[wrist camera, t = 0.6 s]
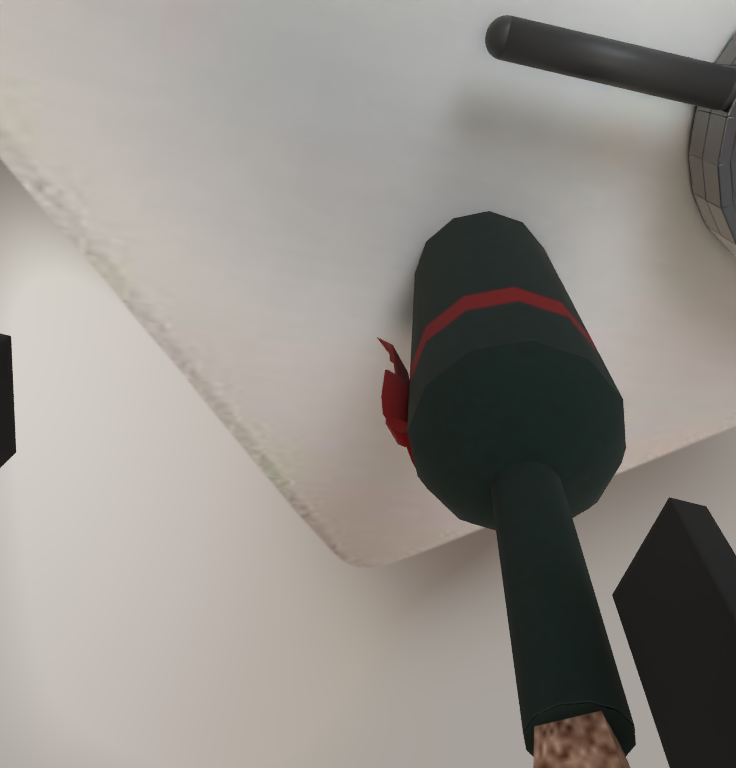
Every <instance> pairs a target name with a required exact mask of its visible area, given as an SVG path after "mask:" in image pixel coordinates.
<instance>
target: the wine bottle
mask: <svg viewBox="0 0 736 768" xmlns="http://www.w3.org/2000/svg"><path fill="white" fill-rule="evenodd" d="M378 339H379V338H378ZM379 341H380V342H381V343H382V345H383V346H384V347H385V349H386V350H387V351H388V353H389V354H390V361H391V362H392V363H394V369H395V374H394V373H393V372H391V371H389V370H385V375H384V382H383V389H382V396H381V397H382V408H383V415H384V417H385V418H386V425H387V426H388V428H389V430H390V431H391V433H392V435H393V437H394V438H395V440H396V442H397V443H398V444H399V445H401V446H403V447H407V449H408V452H409V455H410V457H411V460H412V462H413V464H414V466H415V468H416V471H417V475H418V477H419V478H420V480H421V481H422V482H423V484H424V485H425V486H426V487H427V489H428V490H429V491H430V492H432V493H433V494H434V495H435V496H436V497H437V498H438V499H439V500H440V501H441V502H442V503H443V504H444V505H445V506H446V507H447V508H448V509H449V510H450V511H451V512H452V513H453V514H454V515H456V516H457V517H458V518H459V519H461V520H464V521H467V522H469V523H473V524H476V525H479V526H483V527H486V528H489V529H493V530H496V533H497V540H498V548H499V556H500V563H501V570H502V578H503V586H504V592H505V600H506V608H507V615H508V623H509V630H510V638H511V645H512V653H513V660H514V668H515V675H516V683H517V690H518V698H519V705H520V713H521V720H522V728H523V734H524V740H525V745H526V750H527V751H528V752H529V753H530V754H531V755H532V756H533V757H534V766H533V767H534V768H630V766H629V763H628V761H627V759H626V756H627V754H628V753H629V752H630V751H631V750H632V749H633V747H634V746H635V745H636V743H635V728H634V723H633V720H632V717H631V713H630V710H629V707H628V704H627V700H626V696H625V693H624V690H623V687H622V683H621V680H620V676H619V673H618V670H617V667H616V663H615V660H614V656H613V653H612V650H611V646H610V643H609V640H608V636H607V633H606V630H605V626H604V623H603V619H602V616H601V613H600V609H599V606H598V603H597V599H596V596H595V593H594V589H593V586H592V583H591V580H590V576H589V573H588V569H587V566H586V563H585V559H584V556H583V552H582V549H581V546H580V542H579V539H578V536H577V532H576V529H575V526H574V523H573V519H572V518H573V517H575V516H577V515H578V514H580V513H582V512H584V511H585V510H587V509H589V508H590V507H591V506H592V505H594V504H595V503H597V502H598V500H599V498H600V497H601V495H602V494H603V492H604V490H605V489H606V487H607V486H608V484H609V482H610V481H611V479H612V477H613V476H614V474H615V473H616V471H617V469H618V468H619V466H620V464H621V463H622V459H623V456H624V453H625V449H626V443H625V425H624V408H623V398H622V397H621V395H620V393H619V391H618V389H617V387H616V385H615V383H614V381H613V379H612V377H611V376H610V374H609V372H608V370H607V368H606V366H605V364H604V362H603V360H602V358H601V356H600V355H599V353H598V351H597V349H596V347H595V345H594V343H593V341H592V339H591V337H590V335H589V334H588V332H587V330H586V328H585V326H584V324H583V322H582V320H581V318H580V316H579V315H578V313H577V311H576V309H575V307H574V305H573V303H572V301H571V299H570V297H569V295H568V294H567V292H566V290H565V288H564V286H563V284H562V282H561V280H560V278H559V276H558V274H557V273H556V271H555V269H554V267H553V265H552V263H551V261H550V259H549V257H548V255H547V253H546V252H545V250H544V248H543V247H542V246H541V244H540V243H539V242H538V241H537V240H536V238H535V237H534V236H533V235H532V233H531V232H530V231H529V230H528V228H527V227H526V226H525V225H524V224H523V222H520V221H517V220H514V219H511V218H508V217H505V216H502V215H499V214H496V213H493V212H490V211H488V212H483V213H478V214H473V215H468V216H464V217H459V218H454V219H452V220H451V221H450V222H449V223H448V224H446V225H445V226H444V227H443V228H442V229H441V230H440V231H438V232H437V233H436V234H435V235H434V236H433V237H431V238H430V239H429V240H428V241H427V242H426V244H425V247H424V250H423V252H422V255H421V258H420V261H419V264H418V266H417V269H416V272H415V282H414V303H413V323H412V343H411V364H410V380H409V375H408V372H407V370H406V368H405V366H404V364H403V363H402V361H401V359H400V357H399V355H398V354H397V352H396V350H395V348H394V346H393V345H392V344H390V343H388V342H386V341H383V340H381V339H379Z"/></svg>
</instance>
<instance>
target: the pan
mask: <svg viewBox="0 0 736 768" xmlns="http://www.w3.org/2000/svg"><path fill="white" fill-rule="evenodd" d="M715 64H718V65H723V66H727V67H731V68H735V69H736V34H735V36H734V37H733V38H732V40H731V41H730V43H729V44H728V46H727V47H726V49H725V50H724V51H723V53H722V54H721V56H720V57H719V59H718V60H717V62H716V63H715ZM689 153H690V154H689V162H690V171H691V181H692V191H693V195H694V197H695V200H696V202H697V204H698V207H699V209H700V212H701V214H702V216H703V219H704V221H705V223H706V225H707V227H708V228H709V229H710V230H711V231H712V233H713V234H714V235H715V236H716V237H717V238H718V239H719V240H720V242H721V243H722V244H723V245H724V246H725V247H726V248H727V249H728V250H729V251H730V252H731V253H732V254H734V255H735V256H736V98H735V99H734V101H733V102H732V103H731V104H730V106H729V107H728V108H726V109H725V110H713V109H709V108H704V107H700V106H697V110H696V112H695V118H694V124H693V130H692V136H691V142H690V149H689Z"/></svg>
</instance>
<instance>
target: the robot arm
mask: <svg viewBox="0 0 736 768" xmlns="http://www.w3.org/2000/svg"><path fill="white" fill-rule="evenodd" d="M15 440H16V439H15V417H14V394H13V371H12V348H11V336H8V335H4V334H0V467H1V466H2V465H4V463H6V462H7V461H8V460H9V459H10V458H11V457H12V456H13V455H14V454H15V453H16V441H15ZM612 596H613V599H614V602H615V605H616V608H617V610H618V614H619V616H620V620H621V622H622V625H623V628H624V631H625V634H626V638H627V640H628V644H629V647H630V649H631V652H632V655H633V659H634V661H635V665H636V668H637V671H638V674H639V677H640V680H641V682H642V686H643V689H644V691H645V695H646V697H647V700H648V704H649V707H650V710H651V713H652V716H653V719H654V721H655V724H656V728H657V731H658V733H659V736H660V740H661V743H662V746H663V749H664V752H665V755H666V758H667V761H668V764H669V767H670V768H736V555H735V553H734V552H733V550H732V548H731V547H730V545H729V543H728V542H727V540H726V538H725V537H724V535H723V534H722V532H721V530H720V528H719V527H718V525H717V523H716V522H715V520H714V518H713V517H712V515H711V514H710V512H709V510H708V509H707V507H706V506H702V505H698V504H694V503H690V502H686V501H682V500H678V499H673V498H669V499H668V500H667V502H666V504H665V506H664V507H663V509H662V511H661V512H660V514H659V516H658V518H657V519H656V521H655V523H654V524H653V526H652V528H651V530H650V531H649V533H648V535H647V536H646V538H645V540H644V542H643V543H642V545H641V547H640V548H639V550H638V552H637V553H636V555H635V557H634V559H633V560H632V562H631V564H630V565H629V567H628V569H627V571H626V572H625V574H624V576H623V577H622V579H621V581H620V583H619V584H618V586H617V588H616V589H615V591H614V593H613V595H612Z"/></svg>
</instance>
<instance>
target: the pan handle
mask: <svg viewBox="0 0 736 768" xmlns="http://www.w3.org/2000/svg"><path fill="white" fill-rule="evenodd" d="M485 44H486V47H487V50H488V52H489V53H490V54H491V55H492V56H493V57H494V58H496V59H499V60H503V61H508V62H512V63H516V64H520V65H525V66H529V67H533V68H538V69H542V70H546V71H550V72H555V73H559V74H563V75H567V76H572V77H576V78H580V79H585V80H589V81H593V82H597V83H602V84H606V85H610V86H615V87H619V88H623V89H627V90H632V91H636V92H640V93H644V94H649V95H653V96H657V97H662V98H666V99H670V100H674V101H679V102H683V103H687V104H692V105H696V106H700V107H704V108H709V109H713V110H725V109H726V108H728V107H729V106H730V104H731V103H732V102H733V101H734V99H735V98H736V69H735V68H731V67H727V66H723V65H718V64H714V63H710V62H706V61H701V60H697V59H693V58H689V57H684V56H680V55H676V54H672V53H667V52H663V51H659V50H655V49H650V48H646V47H642V46H638V45H633V44H629V43H625V42H621V41H616V40H612V39H608V38H604V37H599V36H595V35H591V34H587V33H582V32H578V31H574V30H570V29H565V28H561V27H557V26H553V25H548V24H544V23H540V22H535V21H531V20H527V19H523V18H518V17H514V16H509V15H505V16H501V17H499V18H497V19H495V20H494V21H493V22H492V23H491V24H490V26H489V27H488V29H487V32H486V36H485Z"/></svg>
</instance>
